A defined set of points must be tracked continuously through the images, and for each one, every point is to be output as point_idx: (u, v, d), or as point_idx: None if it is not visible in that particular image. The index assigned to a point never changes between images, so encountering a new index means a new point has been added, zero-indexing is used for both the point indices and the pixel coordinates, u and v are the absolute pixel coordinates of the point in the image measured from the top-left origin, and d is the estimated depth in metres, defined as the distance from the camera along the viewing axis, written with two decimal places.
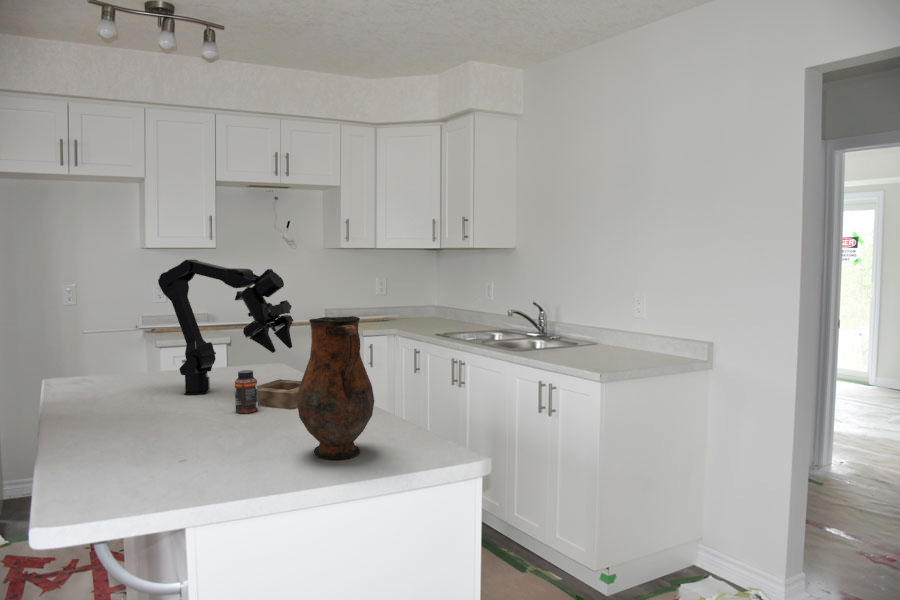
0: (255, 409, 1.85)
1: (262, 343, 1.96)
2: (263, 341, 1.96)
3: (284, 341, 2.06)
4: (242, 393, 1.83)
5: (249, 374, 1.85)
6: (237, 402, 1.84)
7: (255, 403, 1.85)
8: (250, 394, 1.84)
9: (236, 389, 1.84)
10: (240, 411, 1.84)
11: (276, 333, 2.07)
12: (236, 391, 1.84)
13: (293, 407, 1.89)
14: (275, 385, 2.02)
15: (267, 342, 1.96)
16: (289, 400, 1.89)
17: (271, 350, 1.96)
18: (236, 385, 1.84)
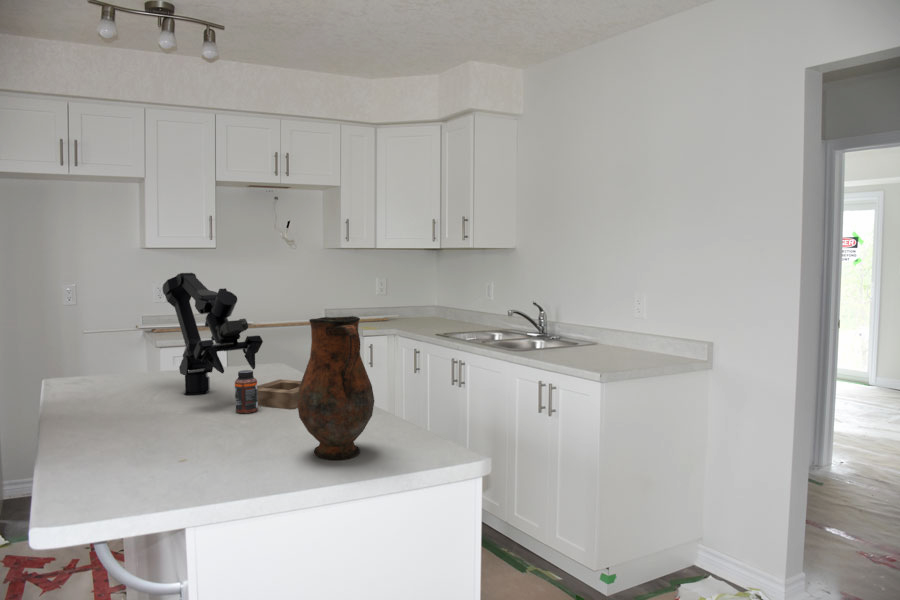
0: (255, 409, 1.85)
1: (212, 364, 1.87)
2: (213, 362, 1.87)
3: (249, 362, 1.94)
4: (242, 393, 1.83)
5: (249, 374, 1.85)
6: (237, 402, 1.84)
7: (255, 403, 1.85)
8: (250, 394, 1.84)
9: (236, 389, 1.84)
10: (240, 411, 1.84)
11: (245, 355, 1.97)
12: (236, 391, 1.84)
13: (293, 407, 1.89)
14: (275, 385, 2.02)
15: (215, 363, 1.86)
16: (289, 400, 1.89)
17: (220, 371, 1.86)
18: (236, 385, 1.84)
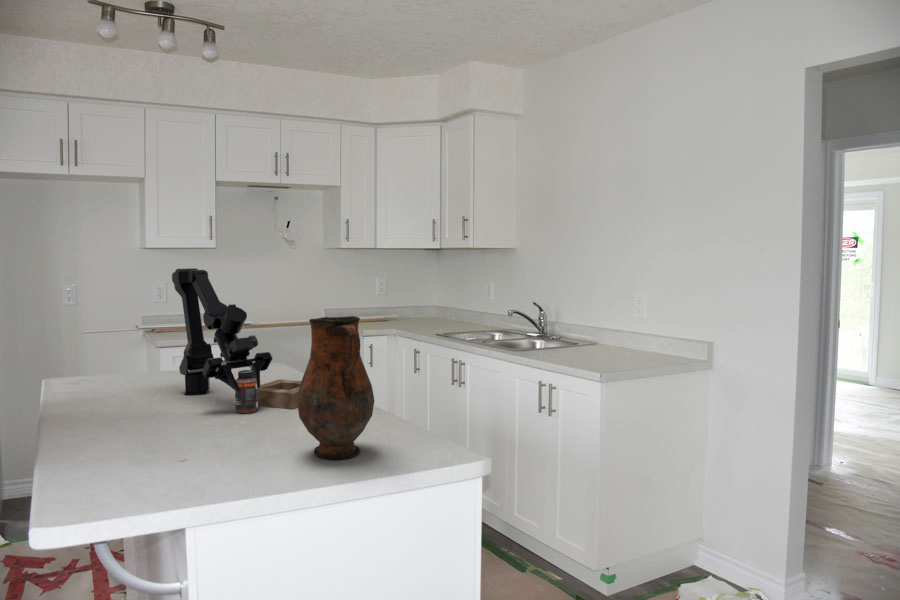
0: (255, 409, 1.85)
1: (227, 382, 1.84)
2: (227, 380, 1.84)
3: None
4: (242, 393, 1.83)
5: (249, 374, 1.85)
6: (237, 402, 1.84)
7: (255, 403, 1.85)
8: (250, 394, 1.84)
9: None
10: (240, 411, 1.84)
11: None
12: (236, 391, 1.84)
13: (293, 407, 1.89)
14: (275, 385, 2.02)
15: (230, 380, 1.84)
16: (289, 400, 1.89)
17: (235, 388, 1.83)
18: None
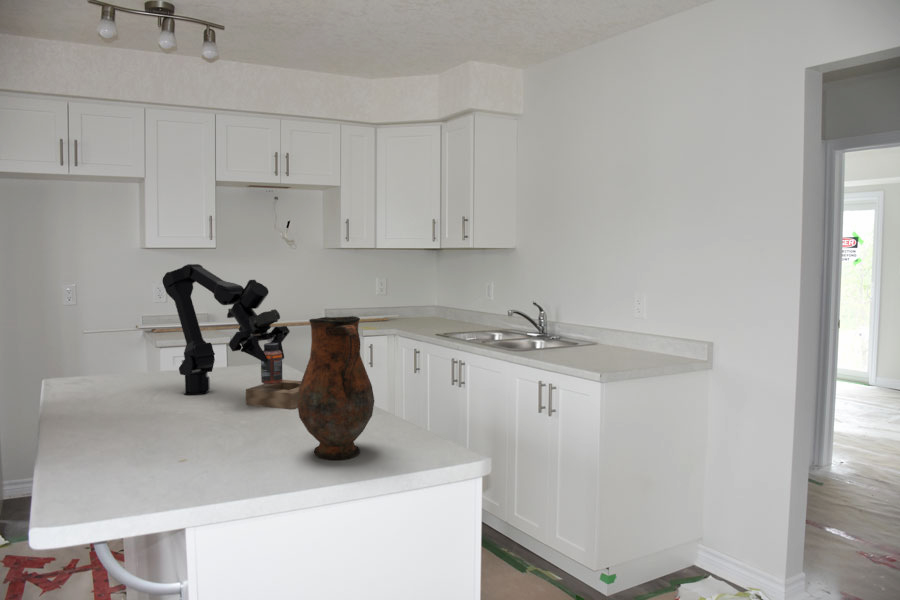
0: (281, 380, 1.93)
1: (254, 354, 1.90)
2: (254, 352, 1.90)
3: None
4: (271, 364, 1.90)
5: (276, 346, 1.92)
6: (265, 373, 1.90)
7: (281, 374, 1.93)
8: (278, 365, 1.91)
9: None
10: (268, 382, 1.90)
11: None
12: (264, 363, 1.90)
13: (293, 407, 1.89)
14: (275, 385, 2.02)
15: (258, 352, 1.90)
16: (289, 400, 1.89)
17: (263, 360, 1.90)
18: None
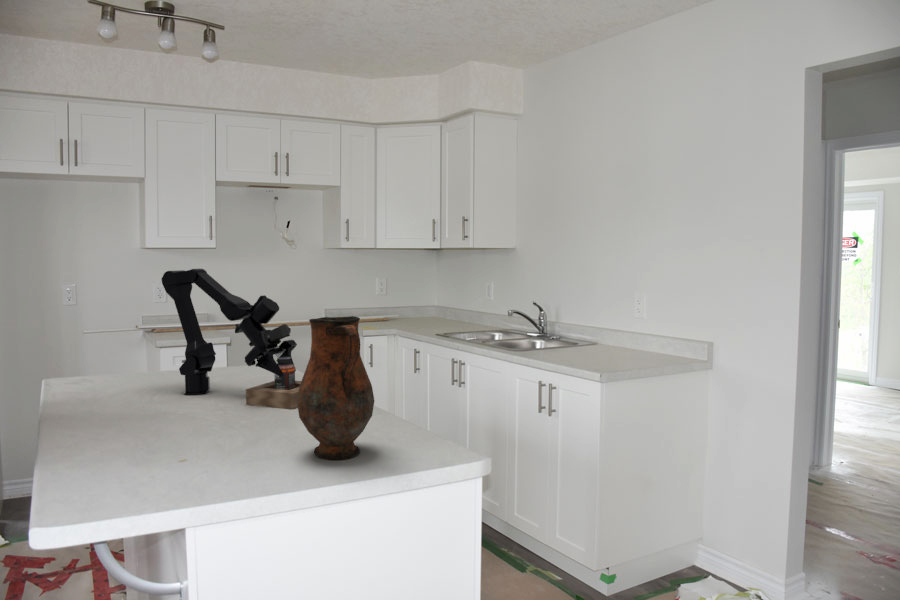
0: None
1: (269, 368, 1.95)
2: (269, 366, 1.95)
3: None
4: (286, 378, 1.96)
5: (290, 360, 1.98)
6: (280, 387, 1.96)
7: None
8: (292, 378, 1.98)
9: None
10: None
11: None
12: (279, 376, 1.96)
13: (293, 407, 1.89)
14: None
15: (273, 367, 1.95)
16: (289, 400, 1.89)
17: (279, 374, 1.95)
18: None
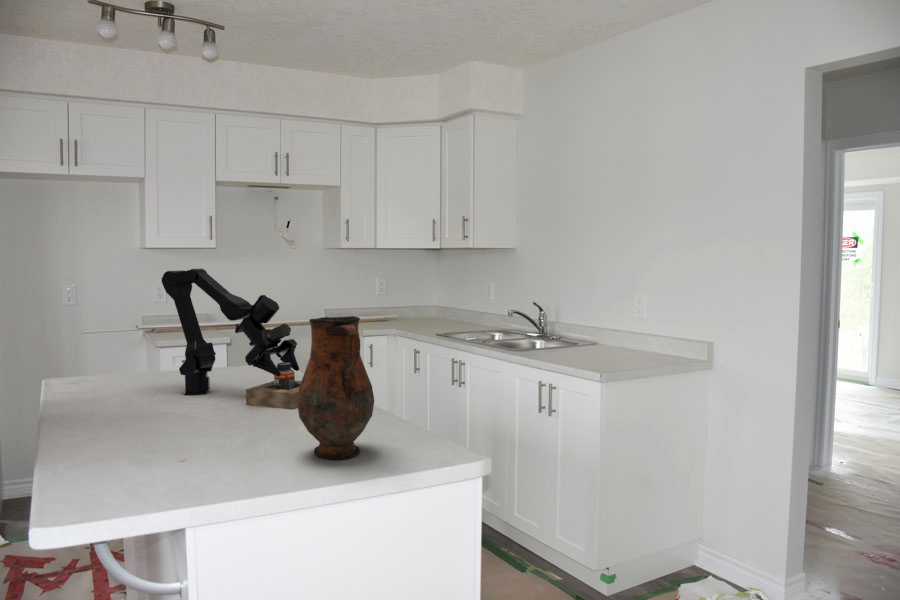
0: None
1: (266, 368, 1.94)
2: (267, 366, 1.94)
3: None
4: (285, 383, 1.96)
5: (289, 365, 1.98)
6: None
7: None
8: (292, 384, 1.98)
9: (278, 380, 1.96)
10: None
11: (282, 359, 2.05)
12: (278, 382, 1.96)
13: (293, 407, 1.89)
14: None
15: (270, 367, 1.93)
16: (289, 400, 1.89)
17: (276, 374, 1.94)
18: (278, 376, 1.96)
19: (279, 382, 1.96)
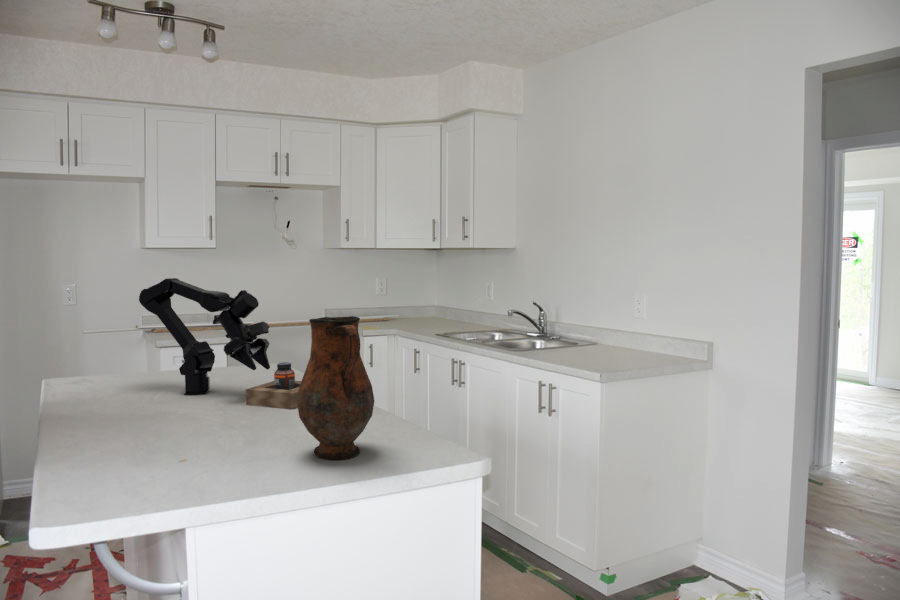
0: None
1: (243, 361, 1.97)
2: (244, 359, 1.97)
3: (261, 363, 2.07)
4: (285, 383, 1.96)
5: (290, 365, 1.98)
6: None
7: None
8: (292, 384, 1.98)
9: (279, 380, 1.96)
10: None
11: (253, 356, 2.08)
12: (278, 382, 1.96)
13: (293, 407, 1.89)
14: None
15: (247, 359, 1.97)
16: (289, 400, 1.89)
17: (252, 367, 1.97)
18: (279, 376, 1.96)
19: (279, 382, 1.96)
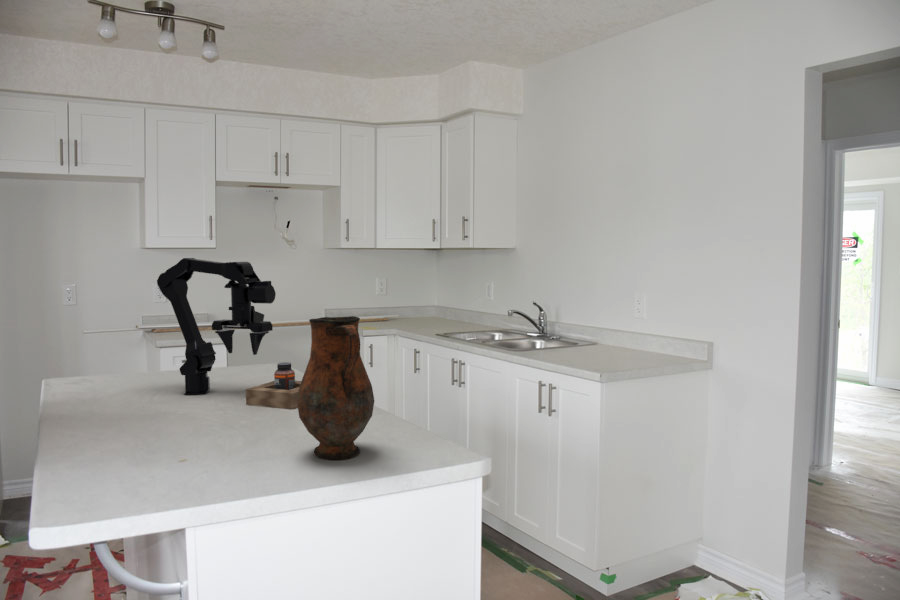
0: None
1: (255, 342, 2.02)
2: (256, 341, 2.03)
3: (228, 344, 2.06)
4: (285, 383, 1.96)
5: (290, 365, 1.98)
6: None
7: None
8: (292, 384, 1.98)
9: (279, 380, 1.96)
10: None
11: (223, 333, 2.05)
12: (279, 382, 1.96)
13: (293, 407, 1.89)
14: None
15: (258, 344, 2.03)
16: (289, 400, 1.89)
17: (255, 352, 2.03)
18: (279, 376, 1.96)
19: (279, 382, 1.96)
